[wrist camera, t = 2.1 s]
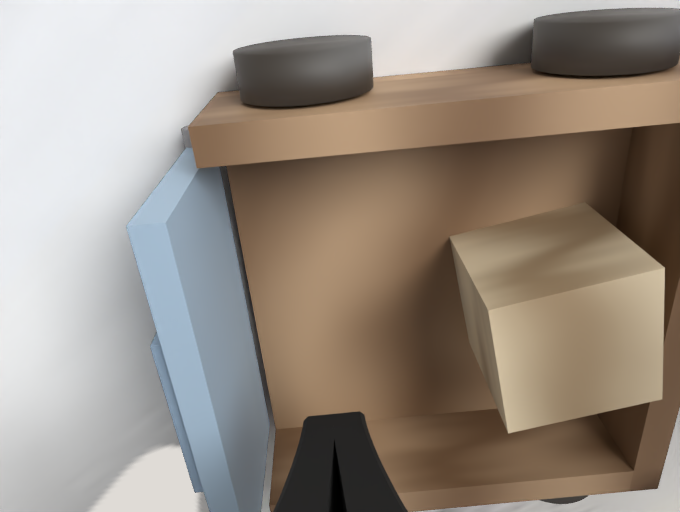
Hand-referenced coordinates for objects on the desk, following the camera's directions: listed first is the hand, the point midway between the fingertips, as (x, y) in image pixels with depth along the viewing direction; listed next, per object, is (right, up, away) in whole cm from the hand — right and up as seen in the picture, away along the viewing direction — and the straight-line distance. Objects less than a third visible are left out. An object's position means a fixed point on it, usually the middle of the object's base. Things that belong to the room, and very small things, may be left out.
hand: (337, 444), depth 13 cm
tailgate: (-4, +3, +6) cm, 8 cm away
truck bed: (+4, +4, +7) cm, 9 cm away
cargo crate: (+6, +4, +6) cm, 10 cm away
